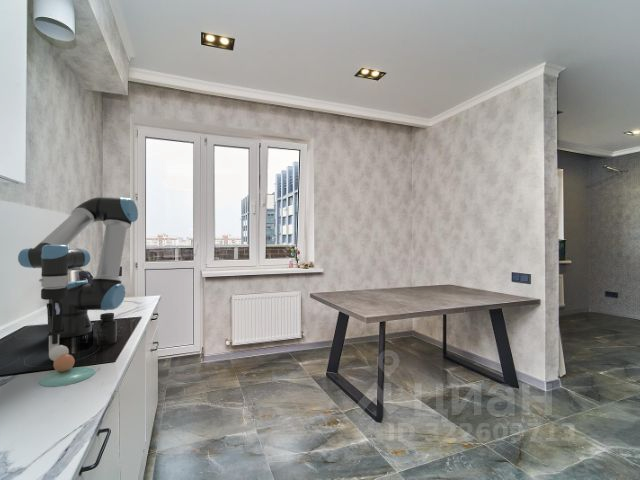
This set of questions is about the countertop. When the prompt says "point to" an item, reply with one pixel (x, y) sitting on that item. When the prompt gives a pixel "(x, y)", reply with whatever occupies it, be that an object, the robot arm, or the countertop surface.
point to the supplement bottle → (107, 329)
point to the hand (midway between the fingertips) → (53, 352)
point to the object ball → (64, 363)
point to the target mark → (66, 377)
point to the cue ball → (58, 351)
